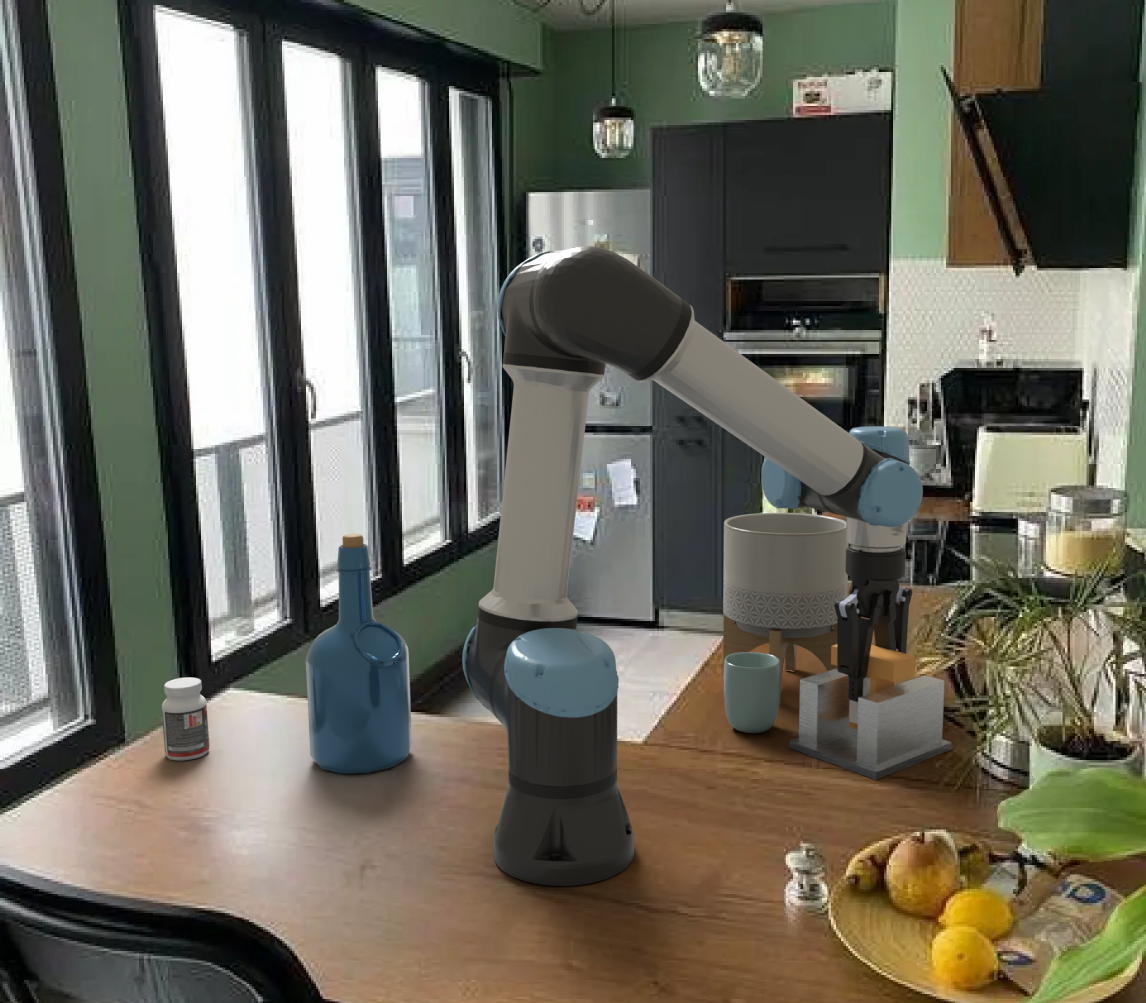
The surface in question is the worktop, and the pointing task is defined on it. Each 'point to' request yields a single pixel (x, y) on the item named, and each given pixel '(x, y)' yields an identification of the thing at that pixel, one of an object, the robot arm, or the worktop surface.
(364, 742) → the wine bottle
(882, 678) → the orange t-shaped block
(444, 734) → the worktop surface
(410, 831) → the worktop surface
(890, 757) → the bracket
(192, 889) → the worktop surface
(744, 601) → the planter
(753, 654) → the cup
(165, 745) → the pill bottle
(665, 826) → the worktop surface
